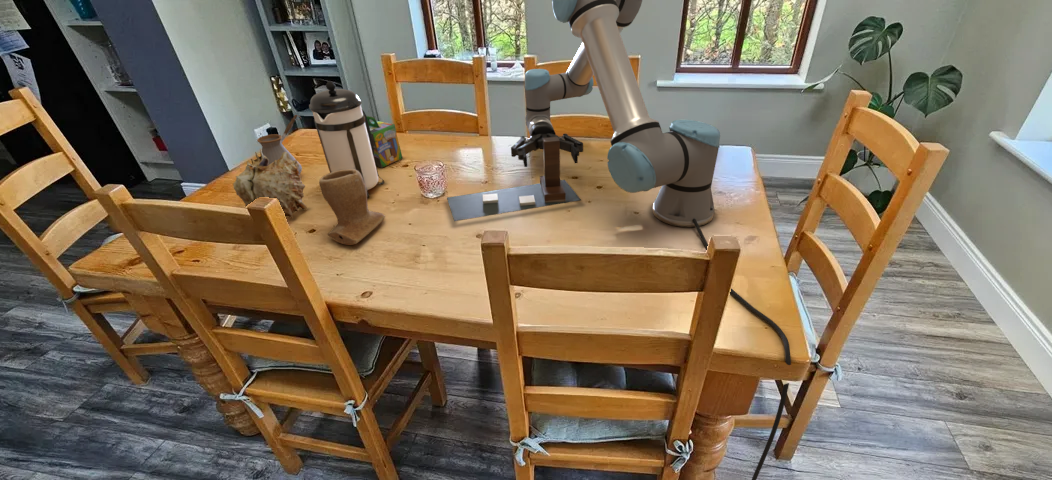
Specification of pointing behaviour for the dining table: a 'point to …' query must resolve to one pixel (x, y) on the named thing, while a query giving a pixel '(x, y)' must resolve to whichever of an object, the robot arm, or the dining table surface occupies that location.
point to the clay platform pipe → (349, 206)
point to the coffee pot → (276, 145)
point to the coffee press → (345, 133)
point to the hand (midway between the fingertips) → (551, 160)
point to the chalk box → (384, 142)
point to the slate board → (502, 201)
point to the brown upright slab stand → (552, 172)
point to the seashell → (272, 182)
